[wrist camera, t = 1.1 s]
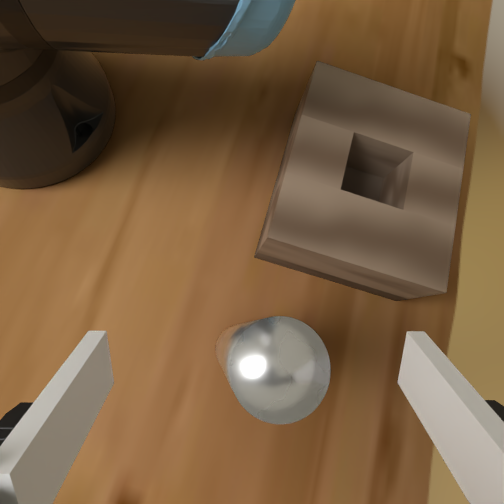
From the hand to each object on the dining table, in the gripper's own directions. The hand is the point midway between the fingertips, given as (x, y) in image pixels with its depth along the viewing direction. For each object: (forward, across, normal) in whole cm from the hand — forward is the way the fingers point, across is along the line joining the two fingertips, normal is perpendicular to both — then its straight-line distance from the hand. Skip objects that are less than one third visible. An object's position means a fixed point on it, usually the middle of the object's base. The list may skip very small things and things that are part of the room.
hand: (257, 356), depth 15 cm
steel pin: (+12, -1, -8) cm, 15 cm away
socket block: (+21, +9, +3) cm, 23 cm away
